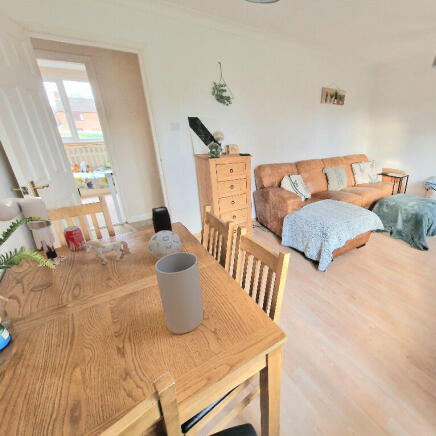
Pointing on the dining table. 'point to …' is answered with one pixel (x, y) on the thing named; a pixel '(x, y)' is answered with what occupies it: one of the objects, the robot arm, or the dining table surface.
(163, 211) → the portable speaker
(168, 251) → the puzzle ball
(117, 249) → the unicorn figurine
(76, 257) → the dining table surface
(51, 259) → the grey square slab
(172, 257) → the cylinder vase
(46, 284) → the cork coaster
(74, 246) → the soda can
